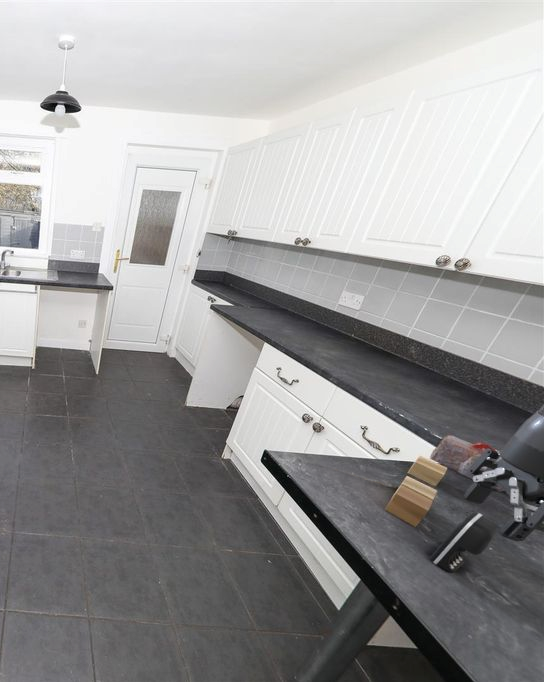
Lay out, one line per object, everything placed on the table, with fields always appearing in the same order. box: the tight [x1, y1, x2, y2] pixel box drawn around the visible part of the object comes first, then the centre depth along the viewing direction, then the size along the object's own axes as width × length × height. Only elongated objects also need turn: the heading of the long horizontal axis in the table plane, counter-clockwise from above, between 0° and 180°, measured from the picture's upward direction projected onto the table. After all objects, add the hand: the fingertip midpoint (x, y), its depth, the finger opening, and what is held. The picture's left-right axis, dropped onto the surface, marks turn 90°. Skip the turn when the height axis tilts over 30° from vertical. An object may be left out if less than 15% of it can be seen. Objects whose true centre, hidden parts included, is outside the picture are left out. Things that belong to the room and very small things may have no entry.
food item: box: [429, 434, 506, 492], centre depth 87 cm, size 14×8×10 cm, turn 31°
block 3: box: [384, 484, 434, 528], centre depth 73 cm, size 5×5×5 cm
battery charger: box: [429, 511, 501, 574], centre depth 62 cm, size 7×4×11 cm, turn 114°
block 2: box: [390, 475, 438, 502], centre depth 77 cm, size 5×5×5 cm
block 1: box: [407, 455, 448, 487], centre depth 85 cm, size 5×5×5 cm
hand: (488, 517), depth 59 cm, fingers open, 8 cm apart
